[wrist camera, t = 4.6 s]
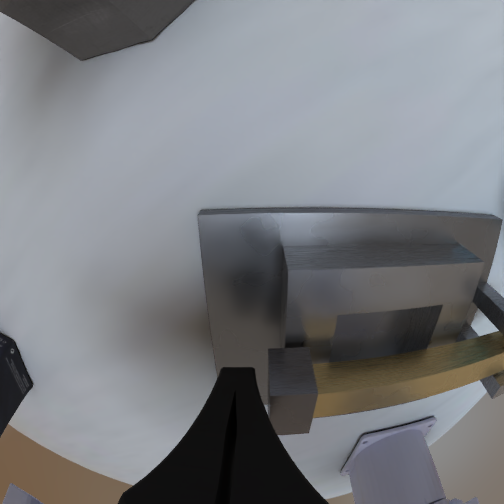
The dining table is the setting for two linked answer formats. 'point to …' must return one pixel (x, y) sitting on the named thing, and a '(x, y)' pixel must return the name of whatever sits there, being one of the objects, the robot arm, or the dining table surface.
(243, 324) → the dock
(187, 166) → the dining table surface
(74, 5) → the coffeepot
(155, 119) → the dining table surface
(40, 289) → the dining table surface
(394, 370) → the pin
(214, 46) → the dining table surface
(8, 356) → the small box
